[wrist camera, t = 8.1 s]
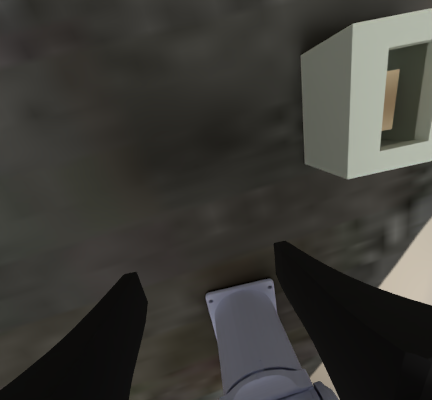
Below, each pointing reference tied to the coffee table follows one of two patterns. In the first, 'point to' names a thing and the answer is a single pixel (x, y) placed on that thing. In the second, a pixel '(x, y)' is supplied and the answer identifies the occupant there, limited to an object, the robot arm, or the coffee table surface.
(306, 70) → the box
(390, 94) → the block
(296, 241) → the coffee table surface
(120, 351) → the robot arm
